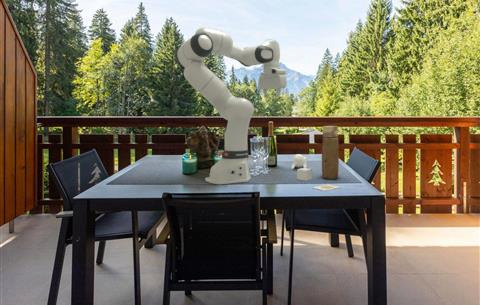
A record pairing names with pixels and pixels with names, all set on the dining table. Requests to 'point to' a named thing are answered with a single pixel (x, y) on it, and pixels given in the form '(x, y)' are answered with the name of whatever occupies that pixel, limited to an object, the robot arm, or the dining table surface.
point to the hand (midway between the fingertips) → (271, 97)
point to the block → (330, 157)
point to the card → (326, 187)
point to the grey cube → (304, 174)
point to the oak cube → (330, 131)
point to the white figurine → (299, 161)
